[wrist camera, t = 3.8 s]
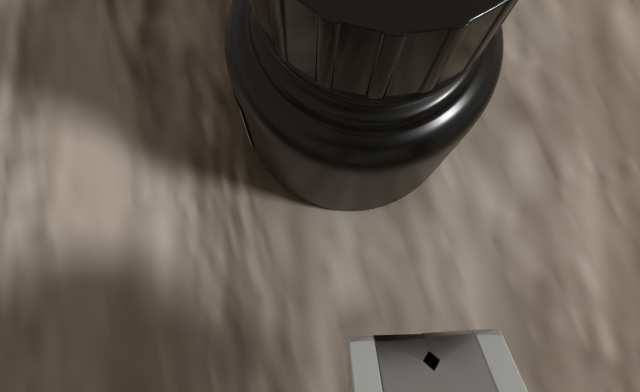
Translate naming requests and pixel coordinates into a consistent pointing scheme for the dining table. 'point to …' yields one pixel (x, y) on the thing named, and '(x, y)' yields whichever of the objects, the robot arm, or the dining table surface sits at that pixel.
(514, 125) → the dining table surface
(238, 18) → the ink bottle
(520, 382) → the robot arm
